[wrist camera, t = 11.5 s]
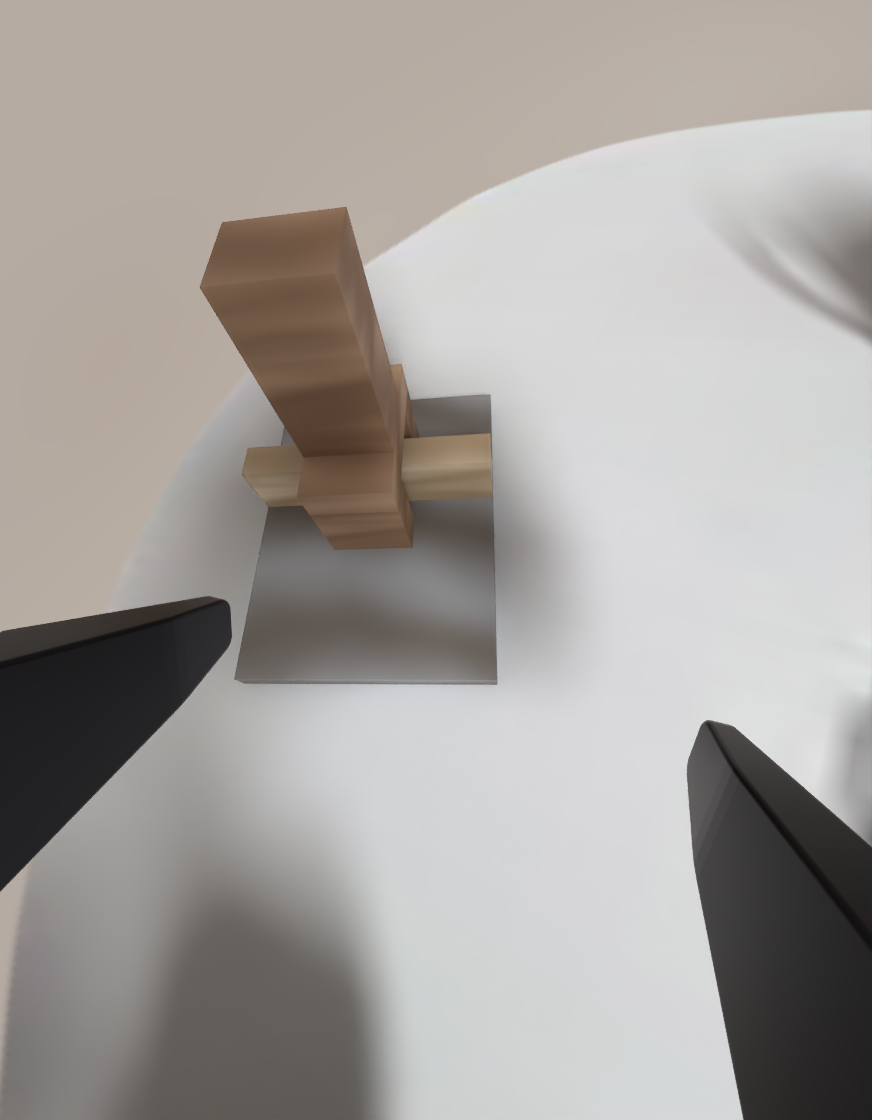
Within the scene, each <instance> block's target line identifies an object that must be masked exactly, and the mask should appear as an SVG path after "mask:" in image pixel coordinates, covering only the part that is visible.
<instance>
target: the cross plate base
mask: <svg viewBox="0 0 872 1120" xmlns="http://www.w3.org/2000/svg"><path fill="white" fill-rule="evenodd" d="M411 404H412V408H413V412H414V417H415V421H416V425H417V429H418V433H419V438H407V439H404V443H403V457H402V470H401V480H402V483H403V486H404V489H405V492H406V495H407V498H408V501H409V504H410V507H411V510H412V513H413V516H414V530H413V548H382V549H349V550H334V548H333V547H332V546H331V544H330V543H329V541H328V540H327V539H326V537H325V536H324V535H323V533H322V532H321V530H320V529H319V528H318V526H317V525H316V523H315V522H314V521H313V519H312V518H311V516H310V515H309V514H308V512H307V511H306V509H305V508H304V507H303V505H302V504H301V502H300V501H299V500H298V498H297V492H298V486H299V481H300V475H301V469H302V463H303V458H304V457H303V456H302V454H301V452H300V451H299V449H298V448H297V446H296V444H295V443H294V441H293V439H292V438H291V436H290V434H289V433H288V431H287V430H286V428H284V433H283V438H282V443H281V446H276V447H260V448H248V450H247V455H246V459H245V463H244V468H243V472H242V476H243V477H244V478H245V479H246V481H247V482H248V483H249V484H250V485H251V487H252V488H253V489H254V490H255V491H256V493H257V494H258V495H259V496H260V497H261V499H262V500H263V501H264V502H265V503H266V504H267V506H268V507H269V508H268V513H267V518H266V523H265V528H264V533H263V538H262V543H261V548H260V553H259V558H258V563H257V568H256V573H255V578H254V583H253V588H252V593H251V598H250V603H249V608H248V613H247V618H246V623H245V628H244V633H243V638H242V643H241V648H240V653H239V658H238V663H237V668H236V673H235V678H234V679H235V680H238V681H240V682H242V683H264V684H489V685H497V656H496V612H495V567H494V523H493V479H492V435H491V398H490V394H489V395H476V396H462V397H448V398H434V399H420V400H411Z"/></svg>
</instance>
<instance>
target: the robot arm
mask: <svg viewBox="0 0 872 1120" xmlns="http://www.w3.org/2000/svg"><path fill="white" fill-rule="evenodd" d="M231 638H232V630H231V613H230V606H229V603H228V602H227V601H226V600H223V599H219V598H215V597H211V596H206V597H200V598H194V599H188V600H182V601H177V602H171V603H165V604H159V605H153V606H147V607H141V608H135V609H129V610H123V611H118V612H112V613H106V614H100V615H94V616H88V617H83V618H77V619H70V620H65V621H59V622H53V623H47V624H41V625H35V626H29V627H23V628H17V629H12V630H6V631H2V632H0V891H1V890H2V889H3V888H4V887H5V886H6V885H7V884H8V883H9V882H10V881H11V880H12V879H13V878H14V877H15V876H16V875H17V874H18V873H19V872H20V871H21V870H22V869H23V868H24V867H25V866H26V865H27V864H28V863H29V861H30V860H31V859H32V858H33V857H34V856H35V855H36V854H37V853H38V852H39V851H40V850H41V849H42V848H43V847H44V846H45V845H46V844H47V843H48V842H49V841H50V840H51V839H52V838H53V837H54V836H55V835H56V834H57V833H58V832H59V831H60V830H61V829H62V828H63V827H64V826H65V825H66V823H67V822H68V821H69V820H70V819H71V818H72V817H73V816H74V815H75V814H76V813H77V812H78V811H79V810H80V809H81V808H82V807H83V806H84V805H85V804H86V803H87V802H88V801H89V800H90V799H91V798H92V797H93V796H94V795H95V794H96V793H97V792H98V791H99V790H100V789H101V788H102V787H103V785H104V784H105V783H106V782H107V781H108V780H109V779H110V778H111V777H112V776H113V775H114V774H115V773H116V772H117V771H118V770H119V769H120V768H121V767H122V766H123V765H124V764H125V763H126V762H127V761H128V760H129V759H130V758H131V757H132V756H133V755H134V754H135V753H136V752H137V751H138V750H139V749H140V747H141V746H142V745H143V744H144V743H145V742H146V741H147V740H148V739H149V738H150V737H151V736H152V735H153V734H154V733H155V732H156V731H157V730H158V729H159V728H160V727H161V726H162V725H163V724H164V723H165V722H166V721H167V720H168V719H169V718H170V717H171V716H172V715H173V714H174V712H175V711H176V710H177V709H178V708H179V707H180V706H181V705H182V704H183V703H184V701H185V700H186V699H187V698H188V697H189V696H190V694H191V693H192V692H193V691H194V689H195V688H196V687H197V686H198V684H199V683H200V682H201V681H202V679H203V678H204V677H205V676H206V674H207V673H208V672H209V671H210V670H211V668H212V667H213V666H214V665H215V663H216V662H217V661H218V660H219V658H220V657H221V656H222V655H223V653H224V652H225V651H226V650H227V648H228V647H229V645H230V642H231ZM687 782H688V796H689V809H690V822H691V836H692V849H693V859H694V867H695V873H696V879H697V884H698V889H699V894H700V899H701V905H702V910H703V915H704V920H705V925H706V930H707V935H708V940H709V946H710V951H711V956H712V961H713V966H714V971H715V976H716V981H717V987H718V992H719V997H720V1002H721V1007H722V1012H723V1017H724V1022H725V1028H726V1033H727V1038H728V1043H729V1048H730V1053H731V1058H732V1063H733V1069H734V1074H735V1079H736V1084H737V1089H738V1094H739V1099H740V1105H741V1110H742V1115H743V1120H872V847H871V846H870V845H869V844H868V843H867V842H866V841H865V840H863V839H862V838H861V837H860V836H859V835H858V834H857V833H855V832H854V831H853V830H852V829H851V828H850V827H849V826H847V825H846V824H845V823H844V822H843V821H842V820H840V819H839V818H838V817H837V816H836V815H835V814H834V813H832V812H831V811H830V810H829V809H828V808H827V807H826V806H824V805H823V804H822V803H821V802H820V801H819V800H817V799H816V798H815V797H814V796H813V795H812V794H811V793H809V792H808V791H807V790H806V789H805V788H804V787H803V786H801V785H800V784H799V783H798V782H797V781H796V780H795V779H793V778H792V777H791V776H790V775H789V774H788V773H786V772H785V771H784V770H783V769H782V768H781V767H780V766H778V765H777V764H776V763H775V762H774V761H773V760H772V759H770V758H769V757H768V756H767V755H766V754H765V753H763V752H762V751H761V750H760V749H759V748H758V747H757V746H755V745H754V744H753V743H752V742H751V741H750V740H749V739H747V738H746V737H745V736H744V735H743V734H742V733H741V732H739V731H738V730H737V729H736V728H735V727H733V726H731V725H727V724H723V723H719V722H715V721H711V720H707V721H705V722H703V724H702V725H701V727H700V729H699V732H698V735H697V737H696V740H695V743H694V745H693V748H692V751H691V754H690V756H689V759H688V764H687Z"/></svg>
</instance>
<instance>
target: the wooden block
mask: <svg viewBox="0 0 872 1120" xmlns="http://www.w3.org/2000/svg"><path fill="white" fill-rule="evenodd" d="M200 289H201V290H202V292H203V294H204V295H205V297H206V298H207V300H208V302H209V303H210V305H211V307H212V308H213V310H214V312H215V313H216V315H217V317H218V318H219V320H220V321H221V323H222V325H223V326H224V328H225V330H226V331H227V333H228V335H229V336H230V338H231V339H232V341H233V343H234V344H235V346H236V348H237V349H238V351H239V353H240V354H241V356H242V357H243V359H244V361H245V362H246V364H247V366H248V367H249V369H250V371H251V372H252V374H253V375H254V377H255V379H256V380H257V382H258V384H259V385H260V387H261V389H262V390H263V392H264V393H265V395H266V397H267V398H268V400H269V402H270V403H271V405H272V407H273V408H274V410H275V412H276V413H277V415H278V416H279V418H280V420H281V421H282V423H283V425H284V426H285V428H286V430H287V431H288V433H289V434H290V436H291V438H292V439H293V441H294V443H295V444H296V446H297V448H298V449H299V451H300V452H301V454H302V456H303V457H304V458H303V463H302V469H301V475H300V481H299V486H298V492H297V498H298V500H299V501H300V502H301V504H302V505H303V507H304V508H305V509H306V511H307V512H308V514H309V515H310V516H311V518H312V519H313V521H314V522H315V523H316V525H317V526H318V528H319V529H320V530H321V532H322V533H323V535H324V536H325V537H326V539H327V540H328V541H329V543H330V544H331V546H332V547H333V548H334V550H349V549H382V548H413V530H414V516H413V513H412V510H411V507H410V504H409V501H408V498H407V495H406V492H405V489H404V486H403V483H402V480H401V470H402V457H403V443H404V439H407V438H419V433H418V429H417V425H416V421H415V417H414V412H413V408H412V404H411V400H410V396H409V392H408V388H407V384H406V380H405V376H404V372H403V368H402V364H400V365H390V363H389V360H388V356H387V353H386V349H385V345H384V342H383V338H382V334H381V331H380V327H379V324H378V320H377V316H376V313H375V309H374V305H373V302H372V298H371V295H370V291H369V287H368V284H367V280H366V276H365V273H364V269H363V265H362V262H361V258H360V255H359V251H358V247H357V244H356V240H355V236H354V233H353V230H352V226H351V222H350V218H349V215H348V211H347V208H346V207H342V208H335V209H327V210H318V211H310V212H303V213H294V214H286V215H278V216H270V217H261V218H253V219H245V220H238V221H230V222H223V223H222V224H221V227H220V230H219V233H218V236H217V239H216V242H215V244H214V247H213V250H212V253H211V256H210V259H209V262H208V265H207V268H206V271H205V273H204V277H203V279H202V282H201V285H200Z"/></svg>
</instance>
